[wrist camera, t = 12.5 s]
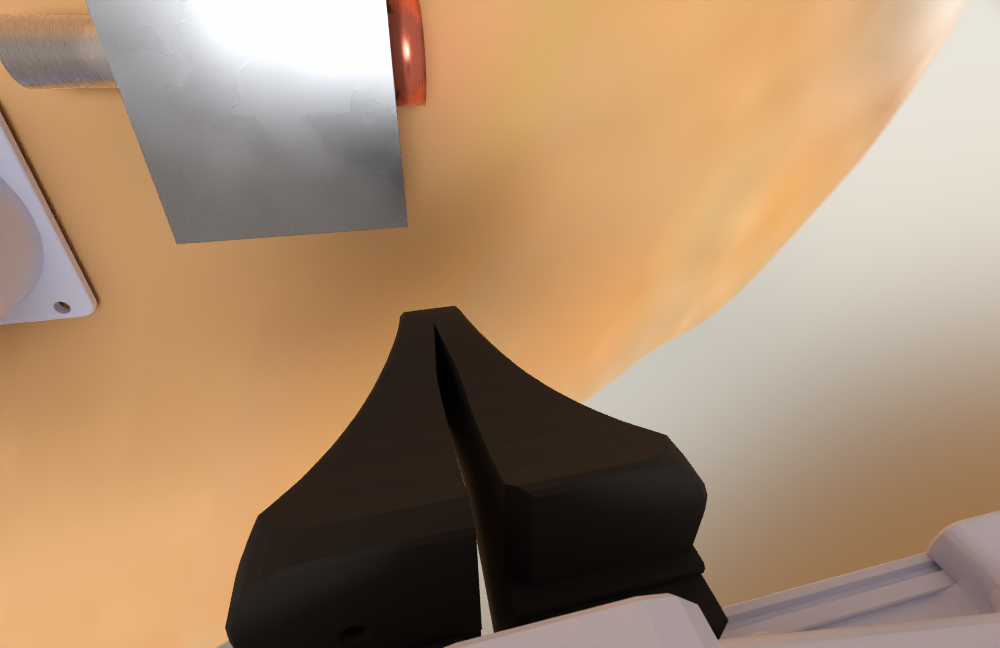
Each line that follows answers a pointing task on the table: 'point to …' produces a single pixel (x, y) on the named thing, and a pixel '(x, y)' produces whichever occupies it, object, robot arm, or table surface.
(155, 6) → the block
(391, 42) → the pin
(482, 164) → the table surface
